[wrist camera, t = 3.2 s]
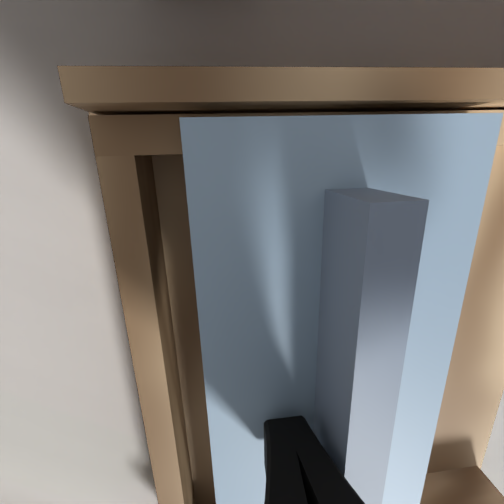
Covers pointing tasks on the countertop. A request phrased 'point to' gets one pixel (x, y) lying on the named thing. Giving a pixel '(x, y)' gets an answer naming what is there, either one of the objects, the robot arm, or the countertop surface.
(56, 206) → the countertop surface
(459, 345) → the wooden tray
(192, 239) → the lid
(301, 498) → the robot arm
